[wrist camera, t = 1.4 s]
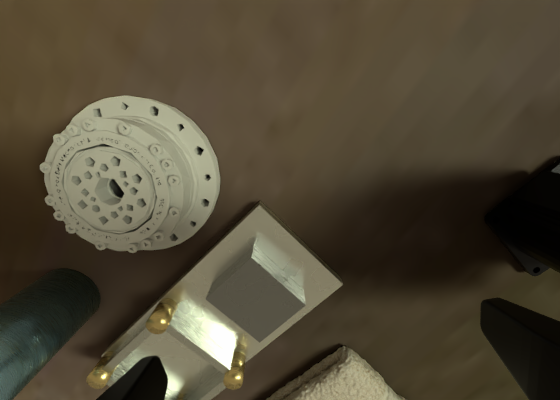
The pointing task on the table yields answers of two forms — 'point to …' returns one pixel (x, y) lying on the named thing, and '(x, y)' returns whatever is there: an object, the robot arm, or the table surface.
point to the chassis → (224, 309)
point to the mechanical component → (131, 175)
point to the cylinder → (41, 324)
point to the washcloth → (338, 381)
